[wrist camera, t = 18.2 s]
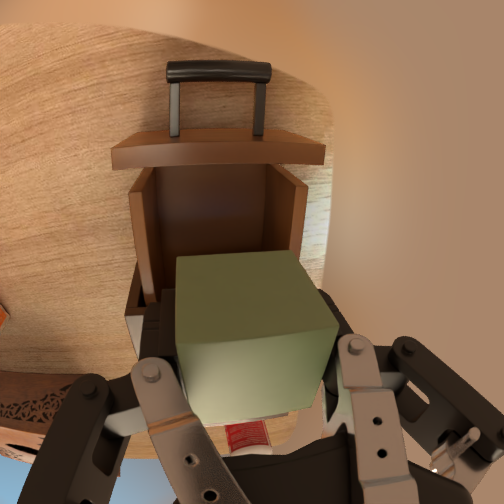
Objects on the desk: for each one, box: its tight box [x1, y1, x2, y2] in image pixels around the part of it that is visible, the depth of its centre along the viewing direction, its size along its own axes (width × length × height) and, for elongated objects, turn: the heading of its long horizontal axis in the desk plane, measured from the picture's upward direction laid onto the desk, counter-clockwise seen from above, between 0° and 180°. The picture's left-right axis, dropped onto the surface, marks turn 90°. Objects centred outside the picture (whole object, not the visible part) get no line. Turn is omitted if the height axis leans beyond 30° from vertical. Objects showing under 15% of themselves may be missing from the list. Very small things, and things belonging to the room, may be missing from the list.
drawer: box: [111, 60, 326, 307], centre depth 20 cm, size 19×11×8 cm, turn 177°
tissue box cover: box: [0, 371, 120, 477], centre depth 29 cm, size 26×14×10 cm, turn 92°
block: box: [175, 250, 339, 424], centre depth 10 cm, size 4×4×4 cm
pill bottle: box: [224, 420, 273, 456], centre depth 37 cm, size 6×6×11 cm
